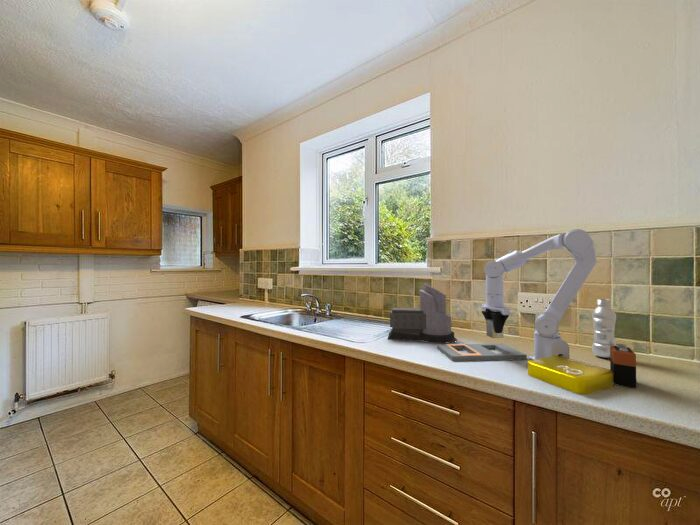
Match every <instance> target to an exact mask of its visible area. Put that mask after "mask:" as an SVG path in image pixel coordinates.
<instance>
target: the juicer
mask: <svg viewBox="0 0 700 525" xmlns="http://www.w3.org/2000/svg"><path fill="white" fill-rule="evenodd" d="M446 299H447V295H446V294H444V293H443V292H441V291H440V290H438V289H436V288H435V287H433V286H430V285H429V284H428V283H426V282H424V283H423V289H419V307H392V309H390V312H389V322H390V323H389V328H392V329H391V330H390V331H389V333H388V335H387V340H388V341H391V340H392V341H393V340H395V341H412V342H425V343H433V344H447V343H446V342H449V343H448V344H453V343H452V342H454V343H456V342H458V339H457V337H455V332H454V331H453V330H452V317H451V315H450V314H448V313H447V311H446V310H447V308H446V307H447V306H446V304H447V303H446ZM455 341H456V342H455Z"/></svg>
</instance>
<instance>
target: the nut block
mask: <svg viewBox="0 0 700 525" xmlns="http://www.w3.org/2000/svg"><path fill="white" fill-rule="evenodd" d="M485 323H486V336H487V337H489V338H492V339H503V338H504V330H503V331H502V333H495V329H494V322H493V319H486V320H485Z"/></svg>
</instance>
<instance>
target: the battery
mask: <svg viewBox="0 0 700 525" xmlns="http://www.w3.org/2000/svg"><path fill="white" fill-rule="evenodd" d="M615 345H616V346H610V358H609V360H610V361H609V362H610V364H609V365H610V369H609V370H612V371H613V378H614V385H616V386H619V387H626V388H631V389H636V388H637V356H636V355H637V354H636V353H635V352H634V351H633V349H632V348H631V347H628V346H627V344H624V343H615Z"/></svg>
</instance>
